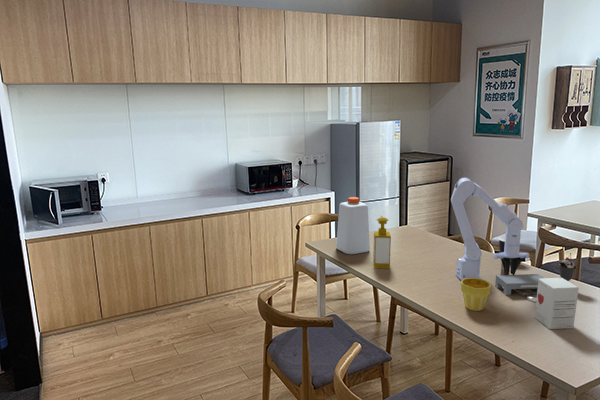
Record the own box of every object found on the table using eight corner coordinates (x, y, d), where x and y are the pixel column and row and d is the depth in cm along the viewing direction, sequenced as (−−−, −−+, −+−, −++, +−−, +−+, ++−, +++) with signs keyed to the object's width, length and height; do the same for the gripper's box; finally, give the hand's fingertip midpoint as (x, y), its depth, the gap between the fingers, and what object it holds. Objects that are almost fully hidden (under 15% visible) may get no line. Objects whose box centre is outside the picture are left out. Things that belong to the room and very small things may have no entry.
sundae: (571, 286, 187) (575, 252, 184) (575, 293, 181) (580, 257, 178) (553, 284, 189) (557, 250, 186) (557, 291, 183) (561, 255, 180)
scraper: (522, 297, 178) (524, 280, 177) (496, 276, 200) (497, 261, 198) (537, 296, 178) (539, 280, 177) (509, 276, 200) (510, 261, 198)
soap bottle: (387, 259, 223) (388, 212, 218) (389, 268, 211) (391, 219, 206) (372, 258, 224) (373, 212, 219) (374, 267, 211) (375, 219, 206)
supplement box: (533, 317, 161) (537, 277, 158) (557, 316, 161) (561, 276, 158) (549, 329, 152) (554, 288, 149) (574, 328, 153) (579, 287, 149)
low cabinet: (506, 296, 179) (507, 284, 178) (495, 286, 188) (496, 275, 187) (550, 294, 180) (551, 282, 179) (537, 285, 189) (538, 274, 188)
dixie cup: (518, 261, 218) (520, 239, 216) (508, 264, 214) (510, 242, 211) (502, 257, 224) (504, 235, 222) (493, 260, 220) (495, 238, 218)
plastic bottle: (333, 247, 242) (333, 196, 236) (357, 244, 248) (358, 194, 242) (347, 256, 228) (348, 202, 223) (372, 251, 234) (374, 199, 229)
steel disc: (530, 302, 173) (531, 299, 173) (523, 297, 178) (524, 294, 178) (543, 302, 173) (543, 299, 173) (536, 297, 178) (536, 294, 178)
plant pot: (471, 315, 163) (473, 289, 161) (453, 303, 173) (455, 279, 171) (495, 311, 166) (497, 286, 164) (477, 299, 176) (478, 276, 174)
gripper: (523, 240, 195) (521, 270, 198) (491, 241, 195) (488, 271, 197) (532, 245, 188) (529, 276, 191) (498, 246, 188) (496, 277, 191)
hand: (509, 274), depth 194 cm, fingers closed
